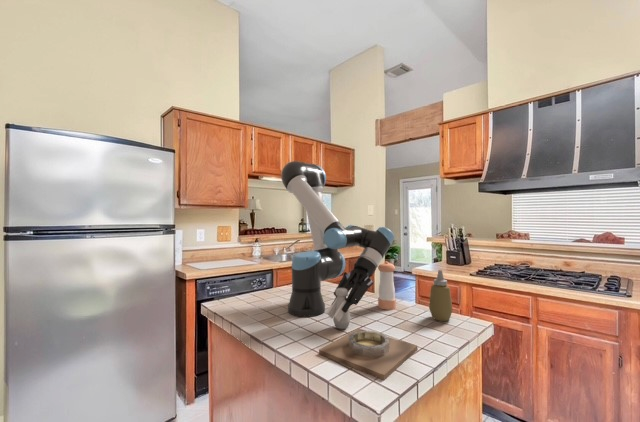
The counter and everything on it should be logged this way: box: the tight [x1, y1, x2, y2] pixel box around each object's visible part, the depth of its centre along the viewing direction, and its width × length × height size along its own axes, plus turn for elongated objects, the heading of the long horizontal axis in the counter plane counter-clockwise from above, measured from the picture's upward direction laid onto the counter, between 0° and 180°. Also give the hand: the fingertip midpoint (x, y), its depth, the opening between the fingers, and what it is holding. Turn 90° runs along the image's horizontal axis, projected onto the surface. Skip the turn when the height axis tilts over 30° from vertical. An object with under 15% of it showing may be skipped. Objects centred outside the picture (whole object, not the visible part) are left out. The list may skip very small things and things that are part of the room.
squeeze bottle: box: [428, 269, 453, 322], centre depth 108 cm, size 8×8×18 cm
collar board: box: [318, 328, 418, 381], centre depth 81 cm, size 20×20×4 cm
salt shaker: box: [332, 287, 351, 330], centre depth 99 cm, size 6×6×13 cm
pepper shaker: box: [377, 261, 397, 311], centre depth 122 cm, size 7×7×19 cm
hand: (332, 317), depth 96 cm, fingers closed on salt shaker, 3 cm apart
